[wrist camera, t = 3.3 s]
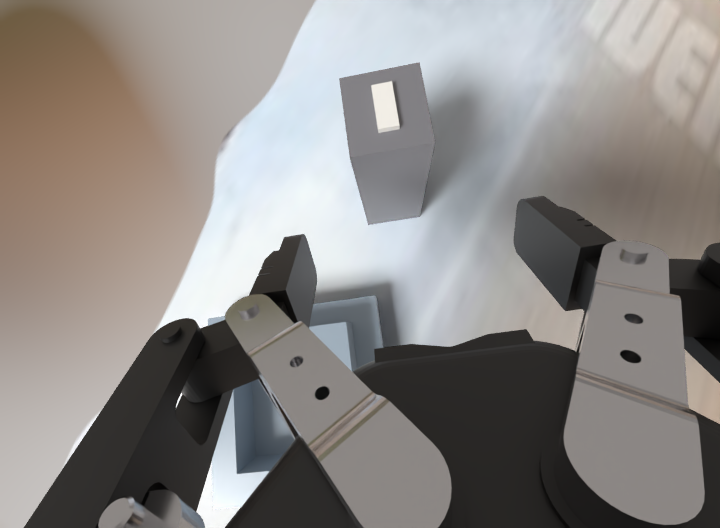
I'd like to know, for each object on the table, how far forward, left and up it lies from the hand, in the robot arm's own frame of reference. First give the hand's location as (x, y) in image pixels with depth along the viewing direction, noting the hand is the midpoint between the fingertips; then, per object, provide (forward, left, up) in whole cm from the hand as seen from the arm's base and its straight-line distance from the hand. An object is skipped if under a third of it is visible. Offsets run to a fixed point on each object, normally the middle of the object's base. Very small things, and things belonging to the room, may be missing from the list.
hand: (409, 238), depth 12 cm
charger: (-4, -6, -12) cm, 14 cm away
